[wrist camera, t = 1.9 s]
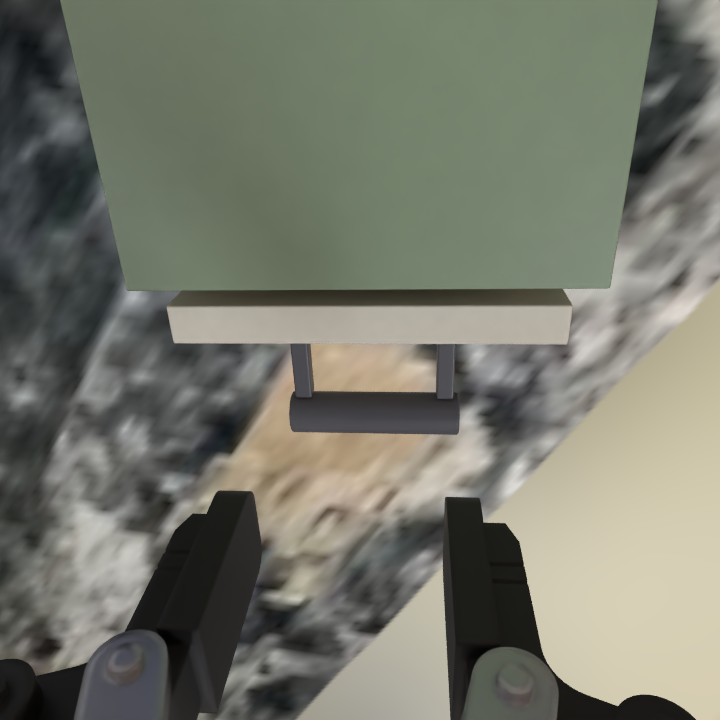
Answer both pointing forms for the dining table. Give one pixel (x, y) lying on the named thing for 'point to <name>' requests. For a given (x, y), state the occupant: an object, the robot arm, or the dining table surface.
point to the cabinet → (363, 139)
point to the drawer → (372, 341)
